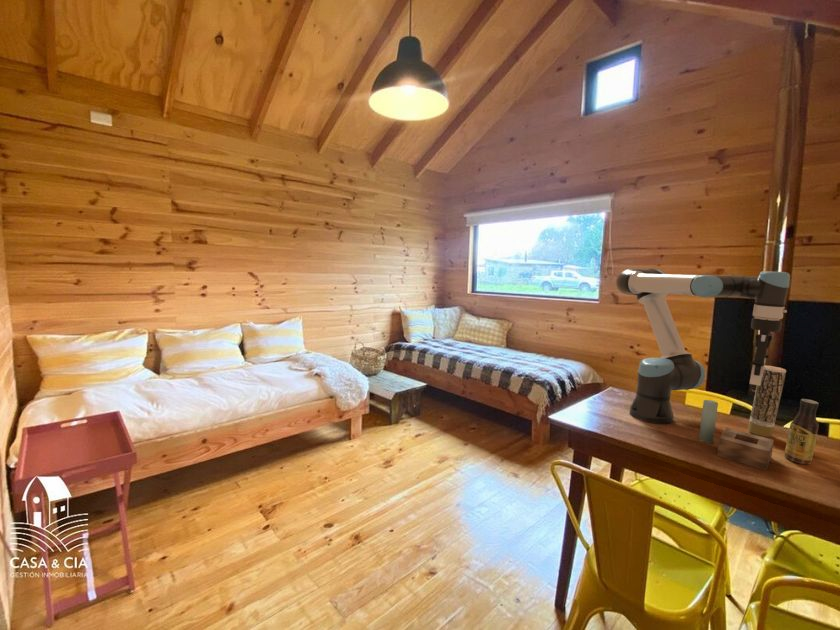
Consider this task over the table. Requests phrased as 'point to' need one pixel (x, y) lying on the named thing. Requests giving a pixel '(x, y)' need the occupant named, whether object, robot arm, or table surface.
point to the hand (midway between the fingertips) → (756, 380)
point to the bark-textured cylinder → (767, 401)
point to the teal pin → (708, 421)
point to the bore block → (745, 448)
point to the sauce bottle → (803, 433)
